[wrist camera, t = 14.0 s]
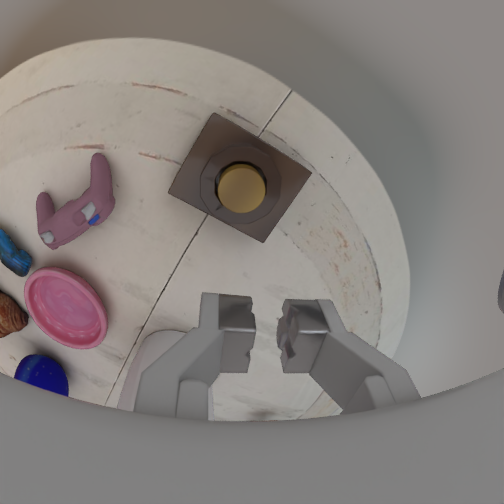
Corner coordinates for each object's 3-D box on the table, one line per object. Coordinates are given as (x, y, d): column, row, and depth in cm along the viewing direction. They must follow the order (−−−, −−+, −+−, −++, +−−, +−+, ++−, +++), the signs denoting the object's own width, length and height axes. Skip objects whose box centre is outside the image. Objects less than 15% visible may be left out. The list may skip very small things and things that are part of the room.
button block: (305, 168, 26) (318, 177, 22) (260, 233, 29) (265, 252, 25) (214, 112, 23) (212, 112, 19) (171, 186, 26) (163, 199, 22)
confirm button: (271, 178, 22) (274, 183, 21) (247, 213, 24) (249, 221, 22) (233, 155, 21) (233, 159, 20) (210, 193, 23) (209, 199, 21)
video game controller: (62, 216, 27) (50, 265, 23) (37, 191, 23) (18, 241, 19) (126, 176, 26) (120, 226, 22) (102, 145, 22) (87, 192, 18)
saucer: (106, 263, 29) (96, 278, 26) (119, 340, 34) (113, 357, 32) (25, 253, 27) (12, 265, 24) (47, 326, 33) (39, 340, 30)
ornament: (24, 335, 33) (-12, 403, 20) (68, 351, 35) (36, 428, 22) (40, 374, 38) (16, 435, 25) (80, 388, 40) (60, 455, 27)
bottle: (197, 383, 40) (196, 541, 17) (128, 360, 36) (96, 523, 14) (228, 339, 35) (241, 540, 13) (146, 309, 32) (99, 522, 10)
